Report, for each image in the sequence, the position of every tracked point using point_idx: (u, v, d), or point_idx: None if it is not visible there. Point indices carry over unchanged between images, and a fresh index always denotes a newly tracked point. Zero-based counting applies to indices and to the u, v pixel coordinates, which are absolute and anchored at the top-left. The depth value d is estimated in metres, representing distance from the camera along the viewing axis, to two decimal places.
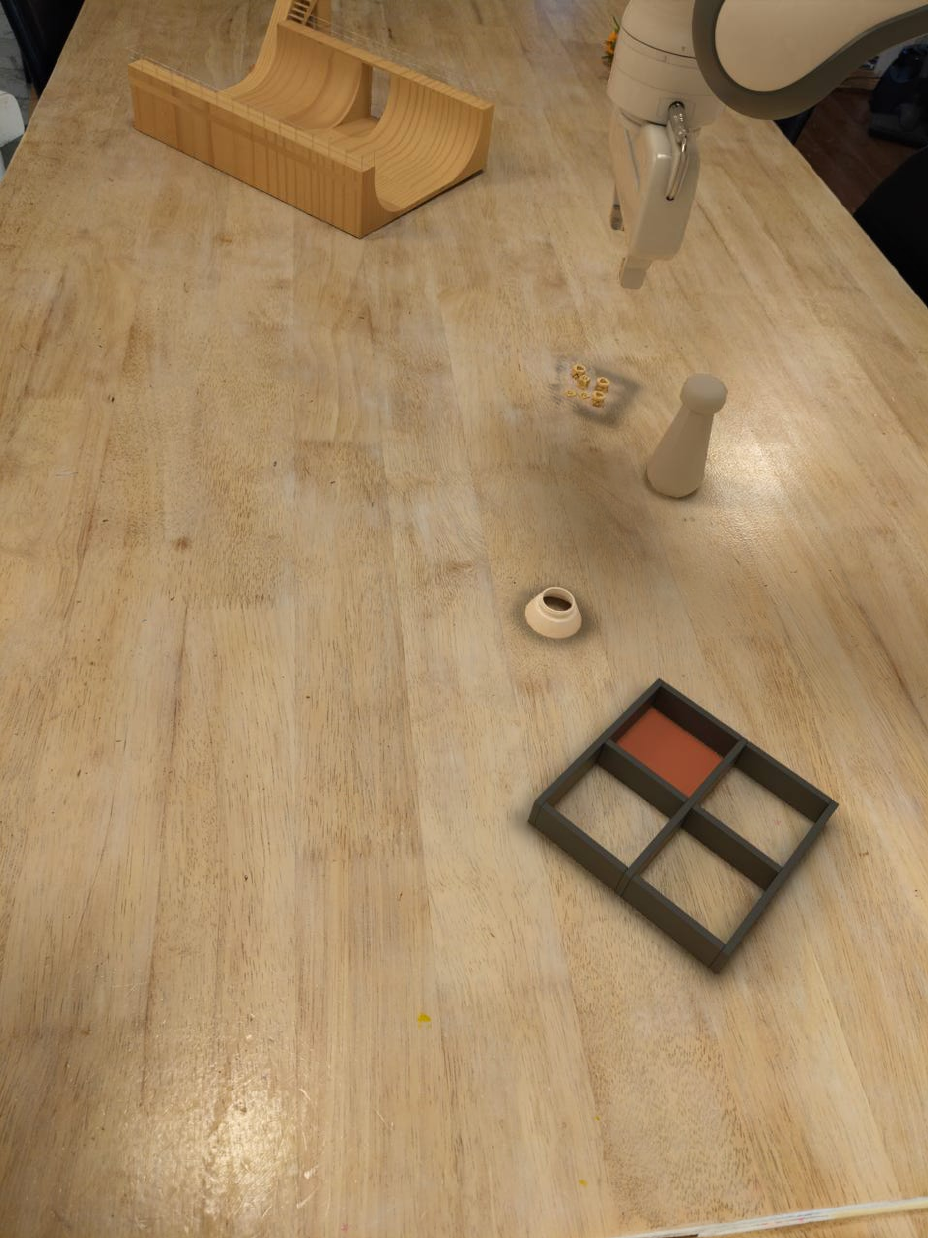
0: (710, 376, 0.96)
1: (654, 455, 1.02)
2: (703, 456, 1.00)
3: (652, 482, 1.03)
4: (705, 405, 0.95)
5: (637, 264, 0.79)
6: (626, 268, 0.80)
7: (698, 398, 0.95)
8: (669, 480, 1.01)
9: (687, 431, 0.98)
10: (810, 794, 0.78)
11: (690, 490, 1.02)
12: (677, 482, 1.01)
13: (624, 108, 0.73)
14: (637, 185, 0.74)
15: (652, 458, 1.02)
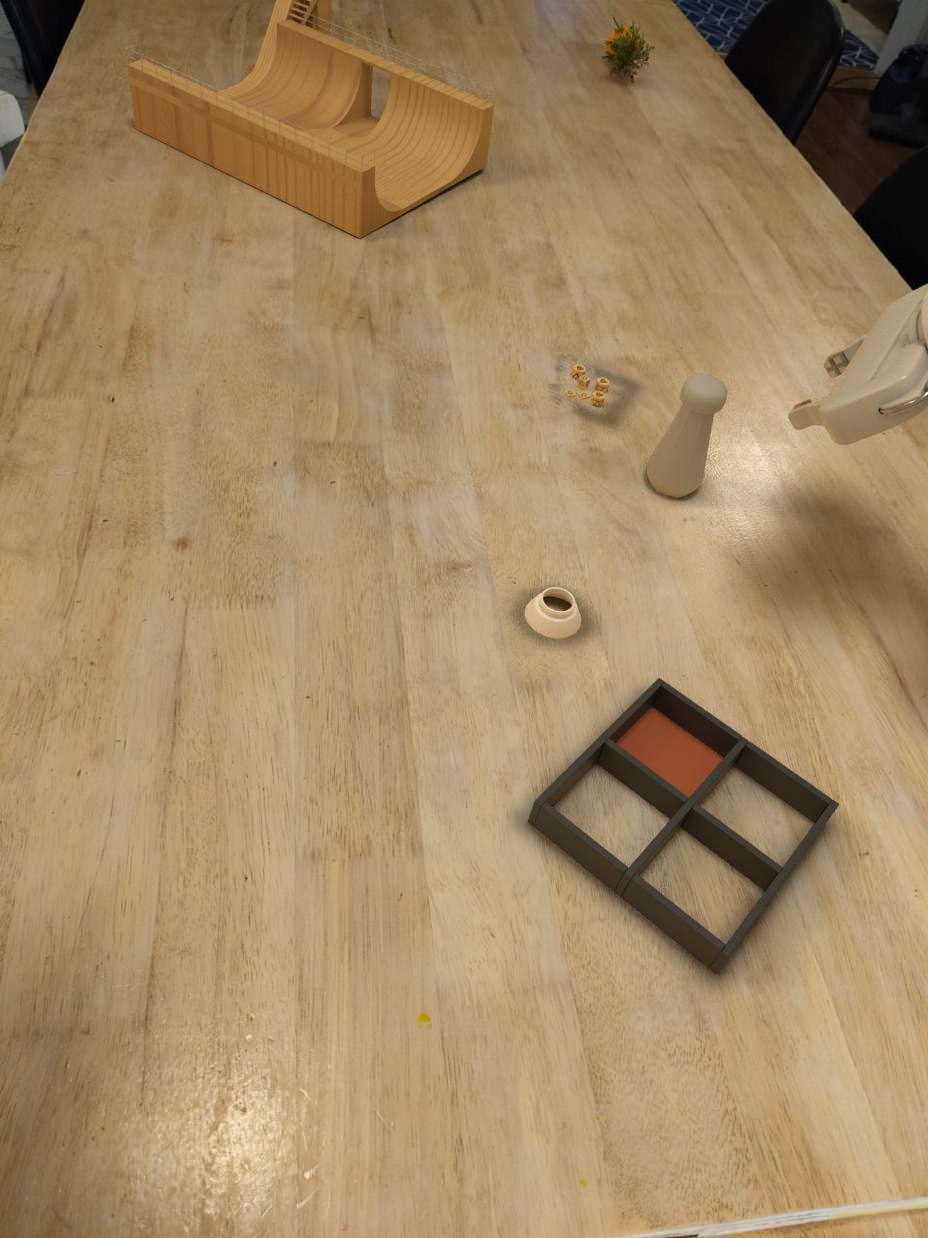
0: (710, 376, 0.96)
1: (654, 455, 1.02)
2: (703, 456, 1.00)
3: (652, 482, 1.03)
4: (705, 405, 0.95)
5: (813, 416, 0.85)
6: (804, 409, 0.86)
7: (698, 398, 0.95)
8: (669, 480, 1.01)
9: (687, 431, 0.98)
10: (810, 794, 0.78)
11: (690, 490, 1.02)
12: (677, 482, 1.01)
13: (922, 318, 0.79)
14: (872, 375, 0.80)
15: (652, 458, 1.02)
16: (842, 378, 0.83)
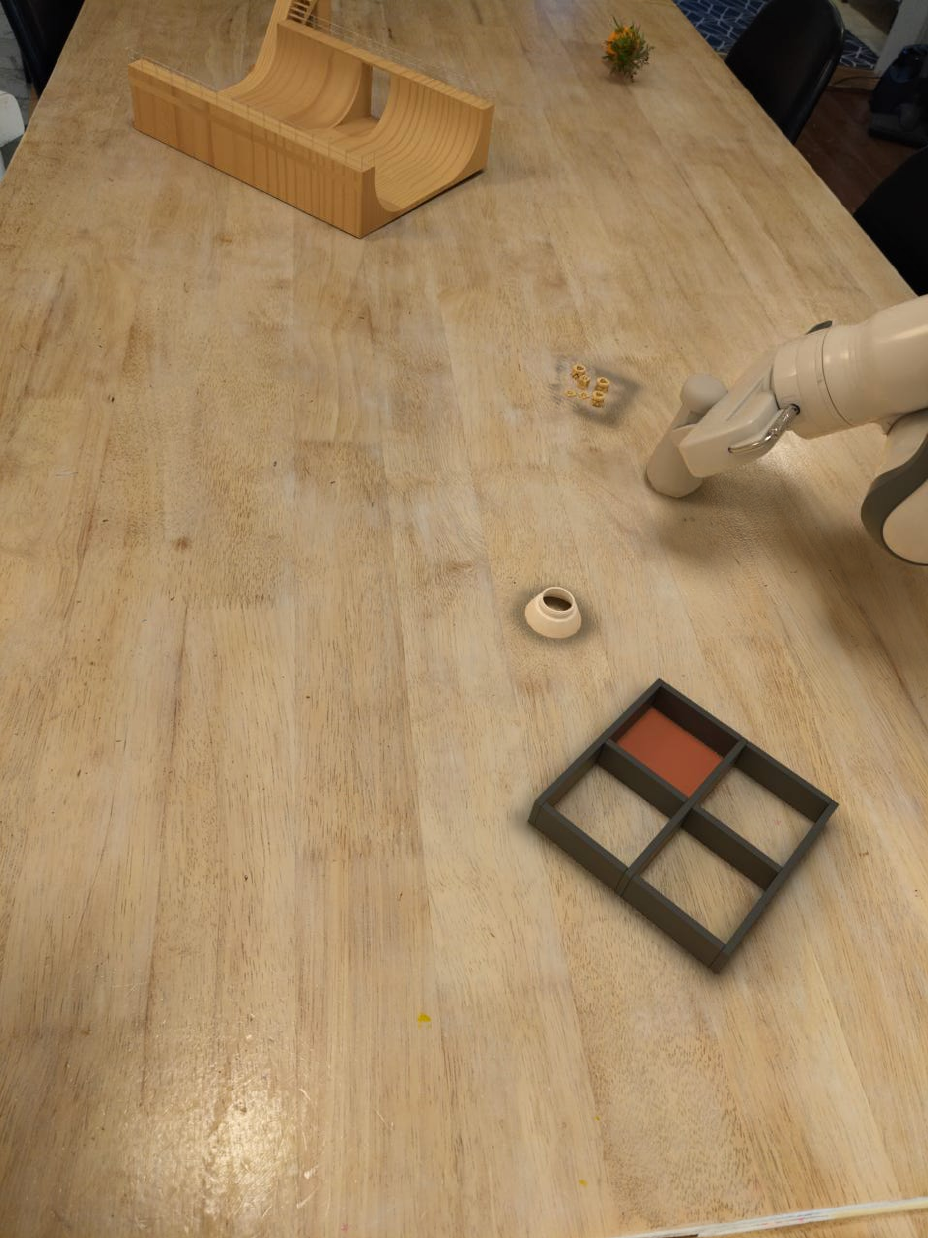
0: (710, 376, 0.96)
1: (654, 455, 1.02)
2: None
3: (652, 482, 1.03)
4: (704, 405, 0.95)
5: None
6: (683, 430, 0.97)
7: (698, 398, 0.95)
8: (669, 480, 1.01)
9: None
10: (810, 794, 0.78)
11: (690, 490, 1.02)
12: (677, 482, 1.01)
13: (774, 371, 0.88)
14: (727, 417, 0.89)
15: (652, 458, 1.02)
16: (705, 417, 0.93)
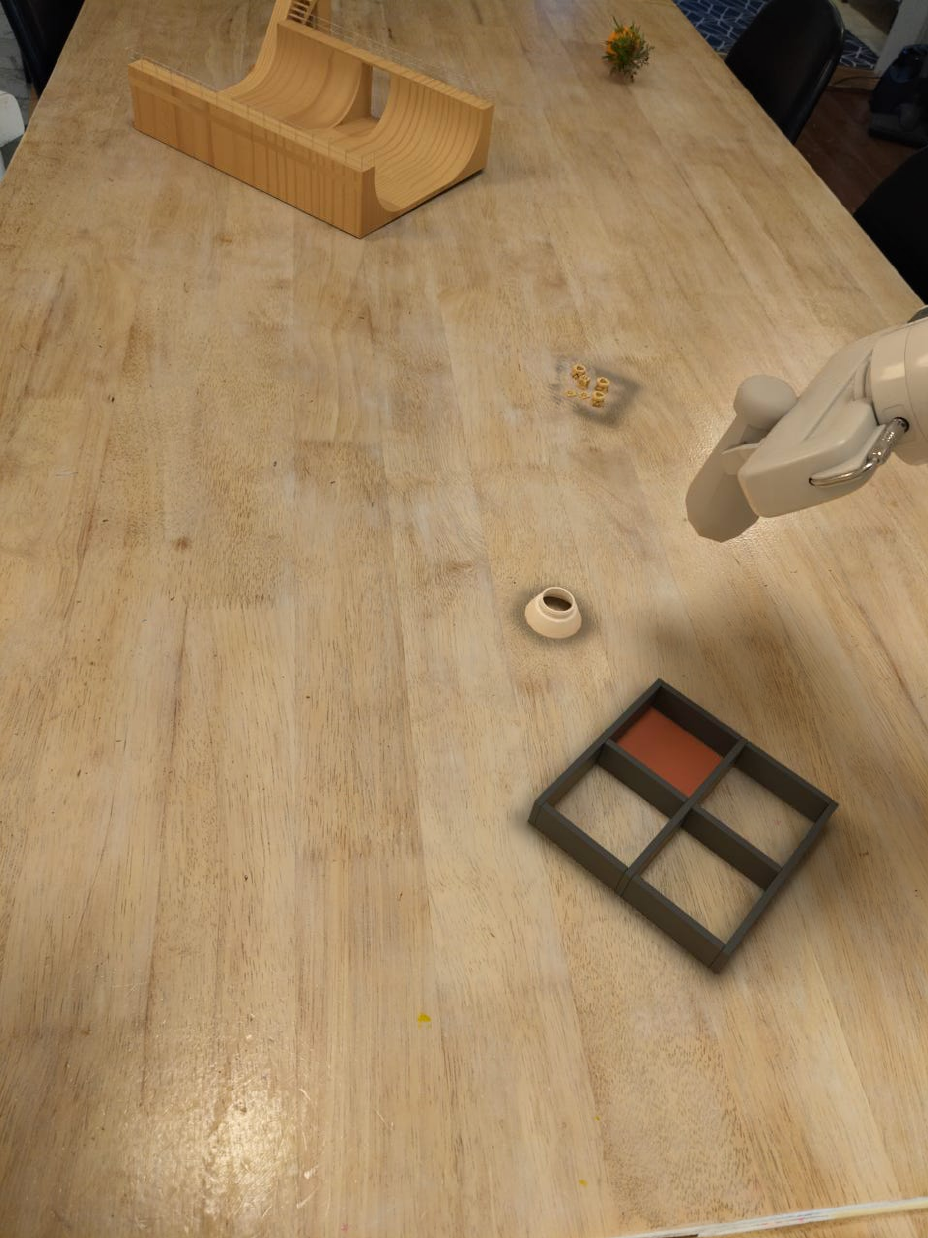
0: (774, 378, 0.72)
1: (696, 482, 0.77)
2: None
3: (693, 518, 0.79)
4: (768, 417, 0.70)
5: None
6: (738, 451, 0.72)
7: (760, 408, 0.70)
8: (716, 516, 0.77)
9: None
10: (810, 794, 0.78)
11: (744, 529, 0.78)
12: (727, 518, 0.76)
13: (871, 371, 0.64)
14: (806, 435, 0.65)
15: (693, 486, 0.78)
16: (771, 435, 0.68)
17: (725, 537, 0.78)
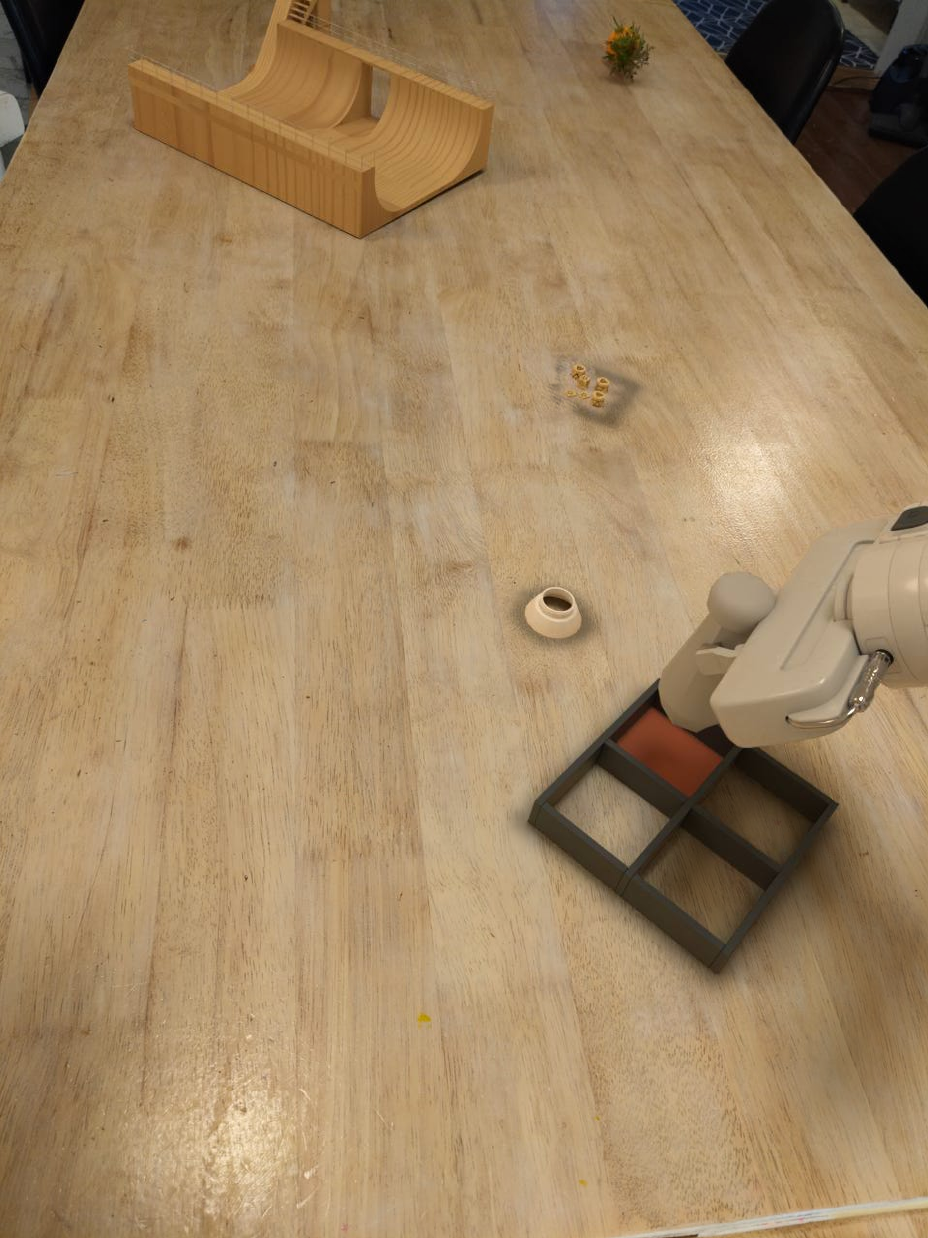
0: (750, 577, 0.67)
1: (669, 673, 0.73)
2: None
3: (666, 708, 0.74)
4: (744, 622, 0.66)
5: (723, 665, 0.67)
6: (713, 654, 0.67)
7: (735, 614, 0.66)
8: (690, 711, 0.72)
9: None
10: (810, 794, 0.78)
11: None
12: (702, 714, 0.72)
13: (852, 597, 0.59)
14: (783, 662, 0.60)
15: (666, 676, 0.73)
16: (746, 651, 0.63)
17: (700, 729, 0.74)
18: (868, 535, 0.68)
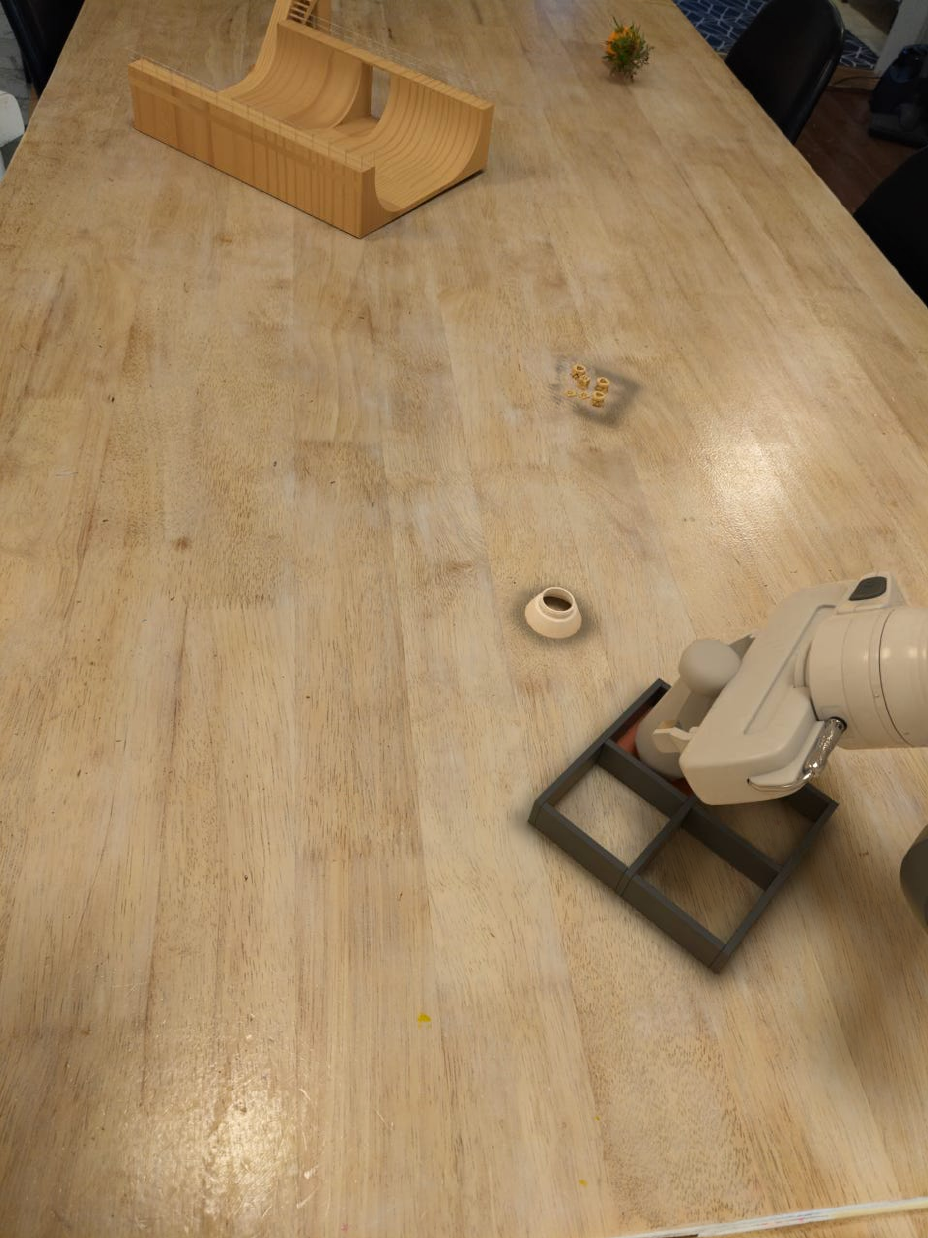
0: (719, 644, 0.72)
1: (644, 729, 0.78)
2: None
3: (642, 760, 0.79)
4: (712, 688, 0.71)
5: (679, 746, 0.70)
6: (669, 735, 0.71)
7: (703, 680, 0.71)
8: (664, 765, 0.77)
9: (688, 712, 0.74)
10: (810, 794, 0.78)
11: None
12: (675, 768, 0.77)
13: (810, 667, 0.64)
14: (746, 726, 0.65)
15: (642, 731, 0.78)
16: (714, 712, 0.68)
17: (674, 780, 0.79)
18: (830, 600, 0.73)
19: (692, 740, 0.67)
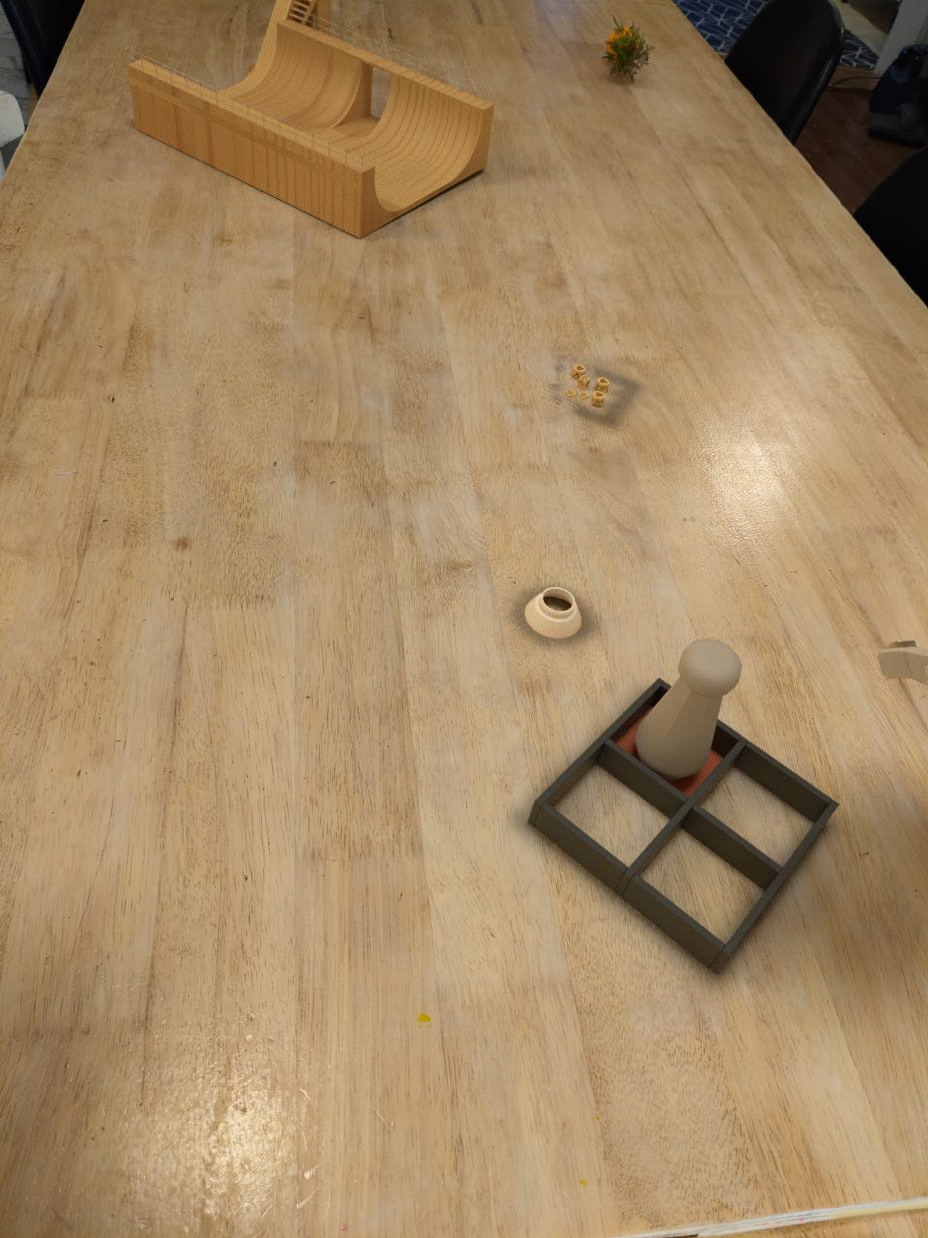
0: (719, 644, 0.72)
1: (644, 729, 0.78)
2: (708, 737, 0.76)
3: (642, 760, 0.79)
4: (712, 688, 0.71)
5: (914, 667, 0.59)
6: (903, 654, 0.60)
7: (703, 680, 0.71)
8: (664, 765, 0.77)
9: (688, 712, 0.74)
10: (810, 794, 0.78)
11: (692, 774, 0.78)
12: (675, 768, 0.77)
13: None
14: None
15: (642, 731, 0.78)
16: None
17: (674, 780, 0.79)
18: None
19: None
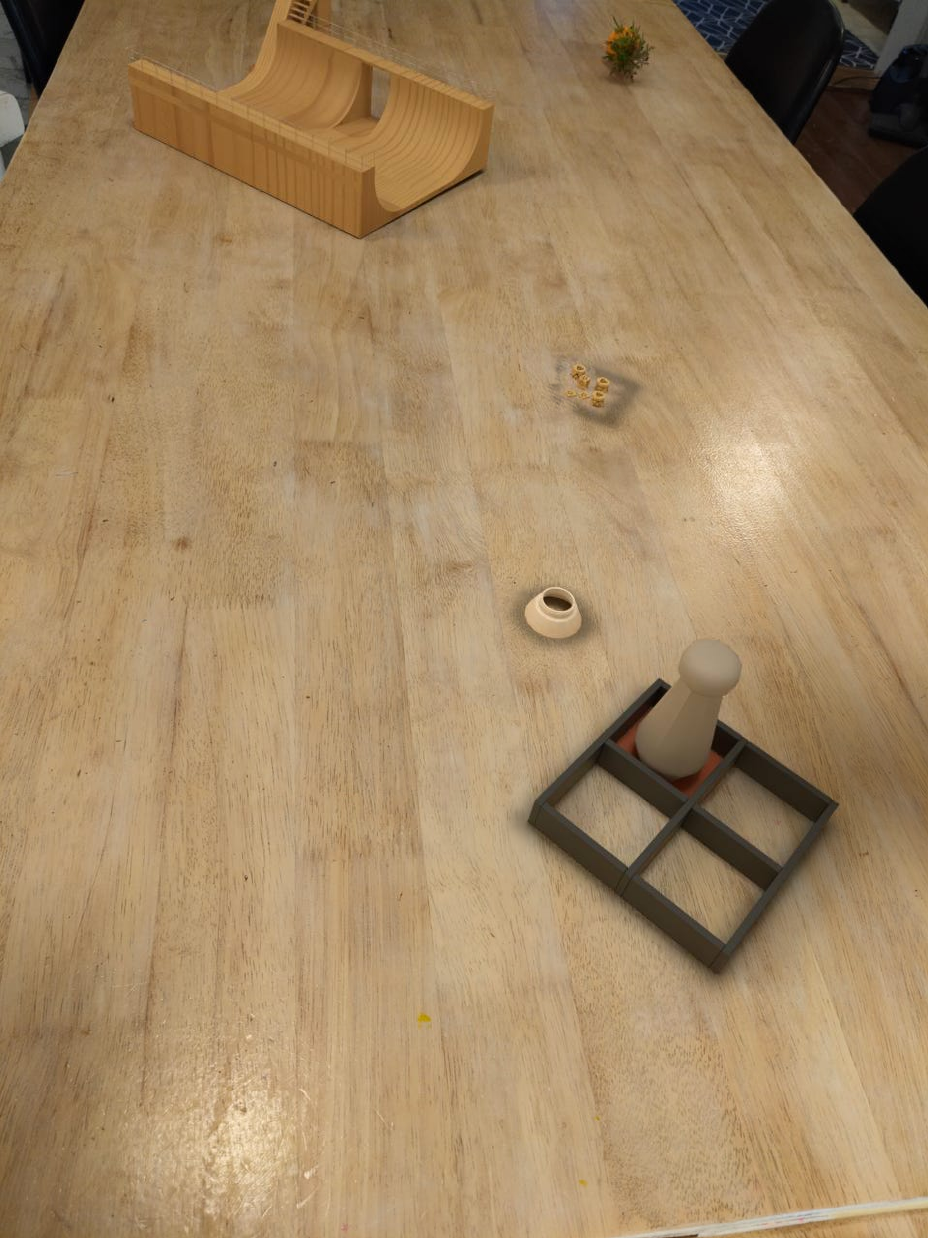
0: (719, 644, 0.72)
1: (644, 729, 0.78)
2: (708, 737, 0.76)
3: (642, 760, 0.79)
4: (712, 688, 0.71)
5: None
6: None
7: (703, 680, 0.71)
8: (664, 765, 0.77)
9: (688, 712, 0.74)
10: (810, 794, 0.78)
11: (692, 774, 0.78)
12: (675, 768, 0.77)
13: None
14: None
15: (642, 731, 0.78)
16: None
17: (674, 780, 0.79)
18: None
19: None
